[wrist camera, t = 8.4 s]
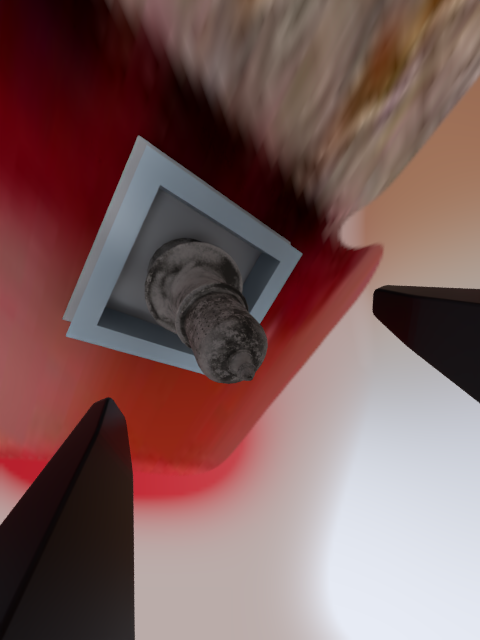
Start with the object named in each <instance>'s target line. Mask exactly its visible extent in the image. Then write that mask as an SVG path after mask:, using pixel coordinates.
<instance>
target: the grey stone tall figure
mask: <svg viewBox="0 0 480 640" xmlns="http://www.w3.org/2000/svg"><path fill="white" fill-rule="evenodd" d="M242 290H243V285H242V276H241V273H240V271H239V268H238V266H237V264H236V263H235V262H234V260H233V259H232V258H231V256H230V255H229V254H227V253H226V252H225V251H223V250H222V249H221V248H219V247H217V246H214V245H211V244H209V243H204V242H201V241H198V240H196V239H191V238H179V239H174V240H171V241H169V242H167V243H165V244H163V245H162V246H161V247H160V248H159V249H158V250H156V252H155V253H154V255H153V256H152V258H151V259H150V263H149V266H148V270H147V278H146V281H145V300H146V304H147V307H148V310H149V312H150V313H151V315H152V316H153V318H154V319H155V321H156V322H158V323H159V324H160V325H161V326H162V327H163V328H165V329H167V330H169V331H171V332H173V333H175V334H178V336H179V338H180V339H181V341H182V342H183V343H184V344H185V345H186V346H187V347H189V348H191V349H192V351H193V353H194V356H195V359H196V361H197V364H198V366H199V368H200V369H201V371H202V372H203V373H204V374H205V375H206V376H207V377H208V378H209V379H211V380H213V381H215V382H218V383H227V384H230V383H237V382H240V381H243V380H246V381H251V380H252V379H253V377H254V375H255V372H256V371H257V370H258V368H259V367H260V366H261V364H262V362H263V360H264V358H265V355H266V351H267V337H266V335H265V332H264V330H263V328H262V326H261V325H260V324H259V323H258V321H257V320H256V319H255V318H254V317H253V316H252V315H251V314H250V313H249V310H248V304H247V302H246V299H245V297H244V296H243V294H242Z"/></svg>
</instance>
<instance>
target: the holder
mask: <svg viewBox="0 0 480 640" xmlns="http://www.w3.org/2000/svg"><path fill="white" fill-rule="evenodd" d="M179 238H191V239H196V240H198V241H201V242H204V243H209V244H211V245H214V246H217V247H219V248H221V249H222V250H223V251H225V252H226V253H227V254H229V255H230V256H231V258H232V259H233V260H234V262H235V263H236V264H237V266H238V268H239V271H240V273H241V276H242V285H243V290H242V294H243V296H244V297H245V299H246V302H247V304H248V310H249V313H250V314H251V315H252V316H253V317H254V318H255V319H256V320H257V321H258V323H259V324H260V323H261V321H262V320H263V318H264V316H265V315H266V313H267V311H268V310H269V308H270V306H271V305H272V303H273V302H274V300H275V298H276V297H277V295H278V293H279V292H280V290H281V289H282V287H283V285H284V284H285V282H286V280H287V279H288V277H289V275H290V274H291V272H292V271H293V269H294V267H295V266H296V264H297V262H298V261H299V259H300V257H301V256H302V253H301V252H299V251H298V250H297V249H295V248H294V247H292V246H291V245H290V244H291V242H289V241H288V240H286V239H285V238H283V237H282V236H281V235H279V234H278V233H276V232H275V231H274V230H272V229H271V228H269V227H268V226H266V225H265V224H264V223H262V222H261V221H259V220H258V219H257V218H255V217H254V216H252V215H251V214H249V213H248V212H247V211H245V210H244V209H242V208H241V207H240V206H238V205H237V204H235V203H234V202H232V201H231V200H230V199H228V198H227V197H225V196H224V195H223V194H221V193H220V192H218V191H217V190H215V189H214V188H213V187H211V186H210V185H208V184H207V183H206V182H204V181H203V180H201V179H200V178H198V177H197V176H196V175H194V174H193V173H191V172H190V171H189V170H187V169H186V168H184V167H183V166H181V165H180V164H179V163H177V162H176V161H174V160H173V159H172V158H170V157H169V156H167V155H166V154H165V153H163V152H162V151H160V150H159V149H157V148H156V147H155V146H153V145H152V144H150V143H149V142H148V141H146V140H145V139H143V138H142V137H140V136H139V135H138V137H137V140H136V142H135V144H134V147H133V149H132V152H131V154H130V157H129V159H128V161H127V164H126V166H125V169H124V171H123V173H122V176H121V178H120V181H119V183H118V186H117V188H116V190H115V193H114V195H113V198H112V200H111V202H110V205H109V207H108V210H107V212H106V215H105V217H104V219H103V222H102V224H101V227H100V229H99V231H98V234H97V236H96V239H95V241H94V244H93V246H92V248H91V251H90V253H89V256H88V258H87V260H86V263H85V265H84V268H83V270H82V272H81V275H80V277H79V280H78V282H77V285H76V287H75V289H74V292H73V294H72V297H71V299H70V301H69V304H68V306H67V309H66V311H65V314H64V316H63V318H62V319H63V320H66V321H70V322H71V324H70V327H69V329H68V332H67V334H66V336H67V337H70V338H74V339H77V340H81V341H85V342H88V343H92V344H96V345H99V346H103V347H107V348H110V349H114V350H117V351H121V352H125V353H128V354H132V355H136V356H139V357H143V358H147V359H150V360H154V361H157V362H161V363H165V364H168V365H172V366H176V367H179V368H183V369H187V370H190V371H194V372H197V373H201V374H204V373H203V372H202V371H201V369H200V368H199V366H198V364H197V361H196V359H195V356H194V353H193V351H192V349H191V348H189V347H187V346H186V345H185V344H184V343H183V342H182V341H181V339H180V338H179V336H178V334H175V333H173V332H171V331H169V330H167V329H165V328H163V327H162V326H161V325H160V324H159V323H158V322H156V321H155V319H154V318H153V316H152V315H151V313H150V312H149V310H148V307H147V304H146V300H145V281H146V278H147V270H148V266H149V263H150V259H151V258H152V256H153V255H154V253H155V252H156V250H158V249H159V248H160V247H161V246H162V245H163V244H165V243H167V242H169V241H171V240H174V239H179Z"/></svg>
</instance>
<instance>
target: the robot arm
mask: <svg viewBox="0 0 480 640" xmlns="http://www.w3.org/2000/svg"><path fill="white" fill-rule="evenodd" d="M373 313H374V315H375V316H376V318H377V319H378V320H380V322H382V323H383V324H384V325H385V326H386V327H387V328H388V329H389V330H390V331H391V332H392V333H393V334H394V335H395V336H396V337H398V338H399V339H400V340H401V341H402V342H403V343H404V344H405V345H406V346H407V347H409V348H410V349H411V350H412V351H414V352H415V353H416V354H417V355H419V356H420V357H422V358H423V359H424V360H425V361H426V362H428V363H429V364H430V365H432V366H433V367H434V368H435V369H437V370H438V371H439V372H441V373H442V374H443V375H444V376H446V377H447V378H448V379H450V380H451V381H452V382H454V383H455V384H456V385H457V386H459V387H460V388H461V389H462V390H464V391H465V392H466V393H468V394H469V395H470V396H471V397H473V398H474V399H475V400H477V401H478V402H479V403H480V289H463V288H439V287H416V286H394V285H393V286H392V285H386V286H383V287H380V288H378V289H376V290H375V291H374V294H373ZM133 517H134V516H133V471H132V462H131V455H130V447H129V439H128V432H127V424H126V420H125V417H124V415H123V414H122V412H121V411H120V409H119V408H118V407H117V405H116V404H115V402H114V401H113V399H111V398H109V397H108V398H105V399H102V400H100V401H97V402H95V403H94V404H93V405H92V406H91V407H90V409H89V410H88V411H87V413H86V414H85V415H84V417H83V418H82V419H81V421H80V422H79V423H78V424H77V426H76V427H75V428H74V430H73V431H72V432H71V434H70V435H69V436H68V438H67V439H66V440H65V441H64V443H63V444H62V445H61V447H60V448H59V449H58V451H57V452H56V453H55V455H54V456H53V457H52V458H51V460H50V461H49V462H48V464H47V465H46V466H45V468H44V469H43V470H42V472H41V473H40V474H39V476H38V477H37V478H36V479H35V481H34V482H33V484H32V485H31V486H30V487H29V489H28V490H27V491H26V492H25V494H24V495H23V496H22V498H21V499H20V500H19V502H18V503H17V504H16V506H15V507H14V508H13V509H12V511H11V512H10V513H9V515H8V516H7V518H6V519H5V520H4V521H3V523H2V524H1V525H0V640H135V631H134V630H135V628H134V626H135V625H134V527H133V525H134V520H133V519H134V518H133Z"/></svg>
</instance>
